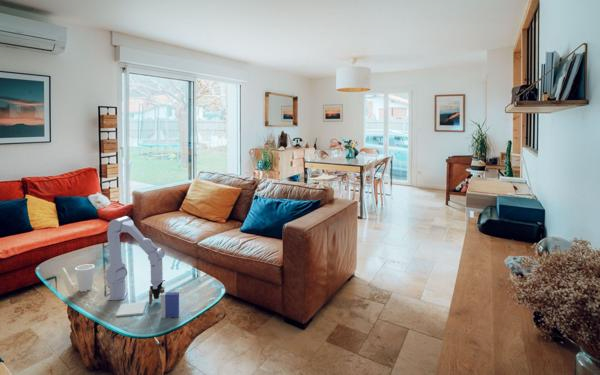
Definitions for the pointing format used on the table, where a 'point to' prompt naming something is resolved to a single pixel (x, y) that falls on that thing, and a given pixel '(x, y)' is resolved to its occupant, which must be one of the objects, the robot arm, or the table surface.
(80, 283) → the foam cup
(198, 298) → the table surface
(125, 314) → the mat
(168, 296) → the walkman
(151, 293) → the brown forked block
